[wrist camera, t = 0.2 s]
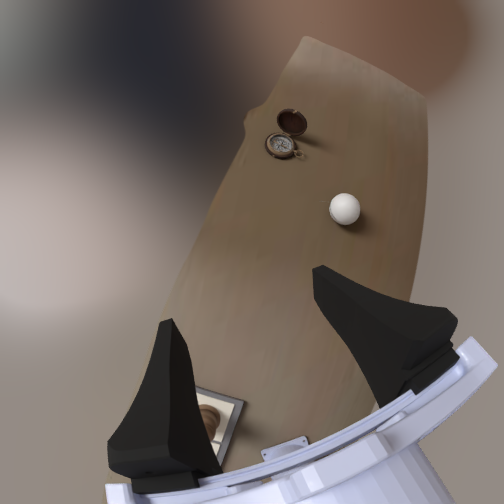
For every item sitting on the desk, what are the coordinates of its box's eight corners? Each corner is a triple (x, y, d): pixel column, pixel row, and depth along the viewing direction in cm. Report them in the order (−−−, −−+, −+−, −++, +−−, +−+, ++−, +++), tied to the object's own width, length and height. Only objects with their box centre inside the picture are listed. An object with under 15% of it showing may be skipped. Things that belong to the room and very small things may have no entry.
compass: (259, 151, 51) (263, 127, 44) (276, 126, 53) (282, 102, 46) (295, 169, 51) (305, 147, 44) (311, 143, 53) (320, 121, 46)
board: (194, 527, 31) (194, 531, 30) (146, 512, 31) (144, 515, 30) (243, 400, 40) (243, 402, 38) (183, 381, 40) (182, 383, 38)
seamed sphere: (355, 209, 50) (368, 196, 44) (348, 234, 48) (361, 223, 43) (320, 191, 50) (330, 176, 45) (310, 216, 49) (320, 203, 43)
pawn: (224, 426, 37) (224, 449, 28) (196, 433, 36) (189, 456, 28) (214, 401, 38) (211, 419, 29) (186, 407, 37) (176, 427, 29)
